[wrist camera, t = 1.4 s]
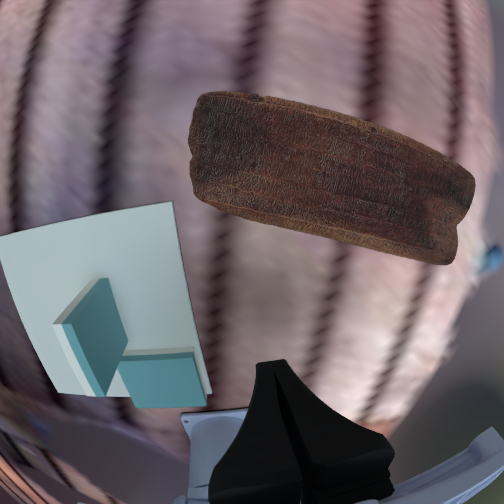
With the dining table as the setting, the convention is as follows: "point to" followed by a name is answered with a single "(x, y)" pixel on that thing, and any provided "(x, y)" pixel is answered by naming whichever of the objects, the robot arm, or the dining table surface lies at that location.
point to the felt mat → (96, 267)
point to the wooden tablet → (327, 175)
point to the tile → (92, 336)
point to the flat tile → (163, 377)
